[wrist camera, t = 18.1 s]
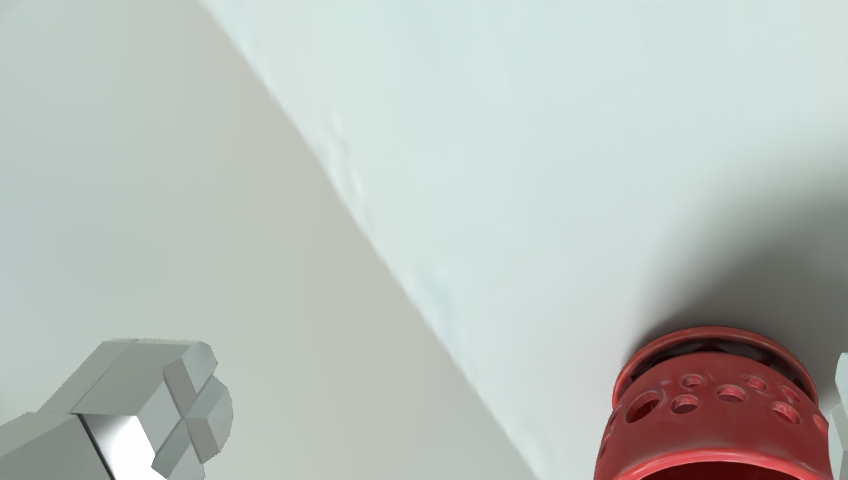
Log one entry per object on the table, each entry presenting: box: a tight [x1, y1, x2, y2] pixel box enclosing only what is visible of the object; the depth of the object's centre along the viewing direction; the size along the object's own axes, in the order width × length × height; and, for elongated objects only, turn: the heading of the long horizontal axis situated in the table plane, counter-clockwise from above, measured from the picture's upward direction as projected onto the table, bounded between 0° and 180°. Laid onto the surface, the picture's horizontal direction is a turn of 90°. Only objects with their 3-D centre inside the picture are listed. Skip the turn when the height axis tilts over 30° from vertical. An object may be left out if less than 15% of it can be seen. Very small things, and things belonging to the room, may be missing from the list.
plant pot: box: [593, 326, 834, 480], centre depth 42 cm, size 13×13×12 cm
